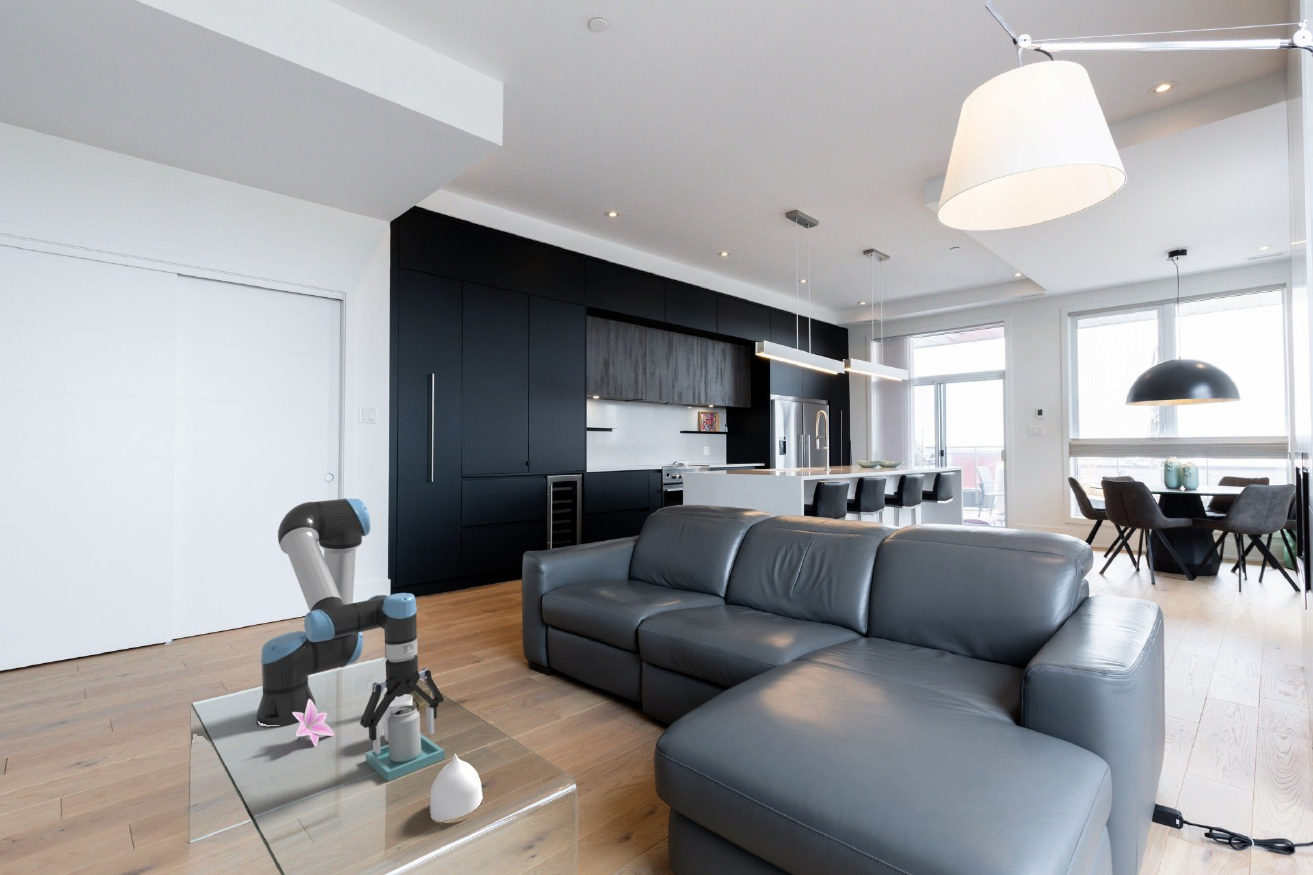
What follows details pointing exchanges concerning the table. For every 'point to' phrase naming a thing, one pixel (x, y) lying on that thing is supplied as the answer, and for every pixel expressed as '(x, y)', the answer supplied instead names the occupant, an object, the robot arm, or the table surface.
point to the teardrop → (455, 791)
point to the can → (404, 734)
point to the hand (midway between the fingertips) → (404, 742)
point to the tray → (395, 770)
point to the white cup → (394, 704)
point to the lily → (312, 723)
